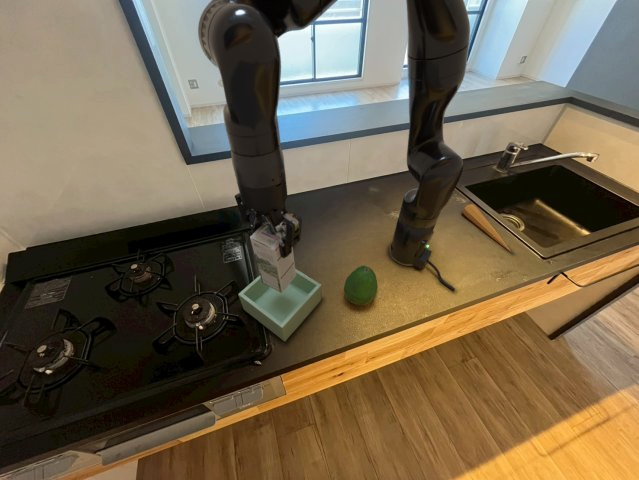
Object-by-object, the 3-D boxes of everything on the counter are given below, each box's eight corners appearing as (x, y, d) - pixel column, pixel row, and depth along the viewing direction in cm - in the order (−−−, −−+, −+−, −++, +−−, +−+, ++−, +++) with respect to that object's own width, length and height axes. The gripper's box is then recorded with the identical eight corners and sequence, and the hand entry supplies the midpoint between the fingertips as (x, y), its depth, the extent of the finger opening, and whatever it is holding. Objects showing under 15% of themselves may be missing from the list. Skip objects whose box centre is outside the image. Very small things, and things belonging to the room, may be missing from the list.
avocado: (372, 315, 67) (379, 286, 59) (340, 307, 69) (343, 278, 60) (376, 289, 72) (384, 258, 64) (346, 282, 74) (350, 251, 65)
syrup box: (297, 275, 63) (292, 228, 52) (281, 294, 59) (273, 248, 49) (276, 265, 65) (268, 218, 55) (260, 283, 61) (248, 236, 51)
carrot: (459, 214, 95) (460, 206, 91) (471, 207, 94) (473, 199, 91) (503, 259, 83) (506, 252, 79) (517, 252, 83) (521, 245, 79)
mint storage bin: (321, 300, 70) (321, 284, 65) (284, 341, 63) (282, 327, 58) (281, 274, 76) (278, 258, 71) (243, 309, 68) (237, 294, 64)
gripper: (210, 167, 44) (234, 242, 56) (278, 201, 37) (288, 277, 49) (246, 149, 48) (261, 222, 60) (312, 177, 42) (314, 252, 54)
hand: (273, 247), depth 55 cm, fingers closed on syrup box, 6 cm apart
